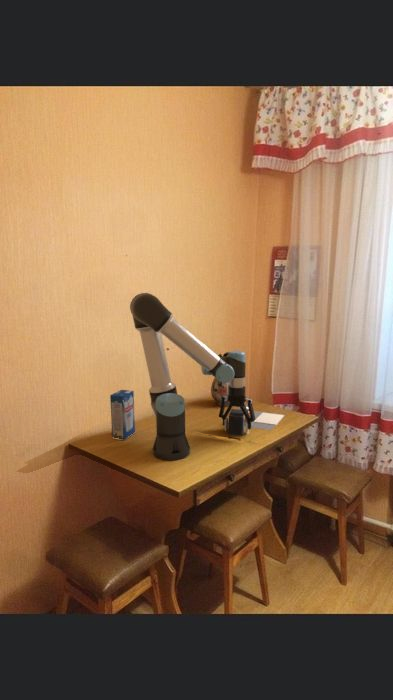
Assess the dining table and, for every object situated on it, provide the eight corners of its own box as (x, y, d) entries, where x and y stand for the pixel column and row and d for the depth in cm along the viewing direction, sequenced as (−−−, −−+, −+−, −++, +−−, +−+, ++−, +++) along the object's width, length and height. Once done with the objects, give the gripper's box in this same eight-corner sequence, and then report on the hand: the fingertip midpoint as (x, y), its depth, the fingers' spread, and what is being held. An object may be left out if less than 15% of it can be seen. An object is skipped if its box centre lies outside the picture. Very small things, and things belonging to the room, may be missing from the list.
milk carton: (123, 431, 200) (121, 389, 196) (135, 432, 198) (133, 390, 194) (112, 438, 190) (110, 395, 187) (124, 440, 188) (122, 396, 185)
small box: (242, 439, 188) (242, 416, 186) (227, 438, 189) (227, 415, 188) (244, 431, 198) (245, 409, 197) (230, 430, 200) (230, 408, 198)
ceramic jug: (206, 406, 237) (206, 352, 232) (216, 399, 251) (216, 348, 246) (236, 409, 230) (236, 354, 225) (244, 402, 244) (244, 350, 239)
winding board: (232, 427, 203) (232, 423, 203) (249, 413, 224) (249, 409, 224) (271, 433, 195) (271, 429, 195) (285, 417, 216) (285, 414, 216)
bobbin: (235, 424, 203) (235, 407, 202) (240, 419, 210) (240, 403, 208) (249, 426, 200) (249, 409, 199) (254, 421, 207) (254, 405, 205)
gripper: (263, 386, 189) (262, 434, 192) (217, 381, 198) (217, 428, 202) (258, 390, 182) (257, 440, 186) (210, 385, 192) (211, 433, 195)
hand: (236, 434), depth 194 cm, fingers open, 9 cm apart
